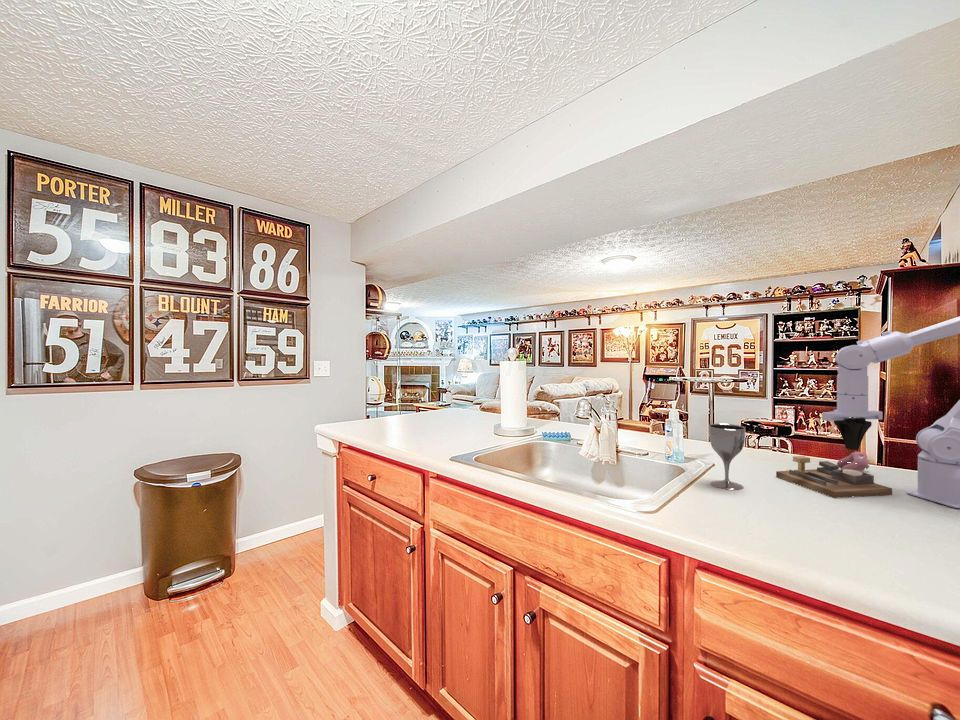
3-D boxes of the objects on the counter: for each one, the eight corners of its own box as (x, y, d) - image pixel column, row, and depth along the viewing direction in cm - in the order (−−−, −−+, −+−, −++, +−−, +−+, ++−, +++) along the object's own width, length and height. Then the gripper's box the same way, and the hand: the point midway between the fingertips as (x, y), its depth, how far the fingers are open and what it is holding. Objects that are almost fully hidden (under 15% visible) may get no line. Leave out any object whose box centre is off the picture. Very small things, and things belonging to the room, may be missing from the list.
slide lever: (810, 475, 104) (810, 458, 104) (800, 475, 104) (800, 458, 104) (802, 472, 107) (802, 455, 107) (792, 472, 106) (792, 456, 106)
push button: (866, 481, 99) (866, 473, 99) (853, 482, 98) (853, 473, 98) (851, 476, 102) (851, 468, 102) (838, 477, 102) (838, 469, 102)
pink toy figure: (859, 483, 108) (875, 461, 106) (839, 473, 110) (854, 451, 108) (853, 473, 116) (869, 453, 114) (834, 464, 118) (849, 444, 116)
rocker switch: (838, 469, 106) (839, 466, 105) (830, 470, 105) (830, 466, 105) (826, 464, 109) (827, 461, 109) (818, 465, 108) (819, 461, 108)
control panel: (891, 494, 95) (892, 479, 95) (834, 498, 93) (834, 483, 93) (826, 474, 111) (826, 461, 111) (776, 476, 109) (776, 463, 109)
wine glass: (709, 487, 101) (709, 428, 101) (708, 478, 108) (708, 422, 108) (747, 492, 98) (747, 430, 97) (743, 482, 105) (743, 424, 104)
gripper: (861, 391, 105) (861, 444, 105) (810, 393, 103) (810, 446, 104) (892, 394, 98) (891, 450, 98) (838, 396, 96) (837, 453, 97)
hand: (852, 449), depth 100 cm, fingers closed
